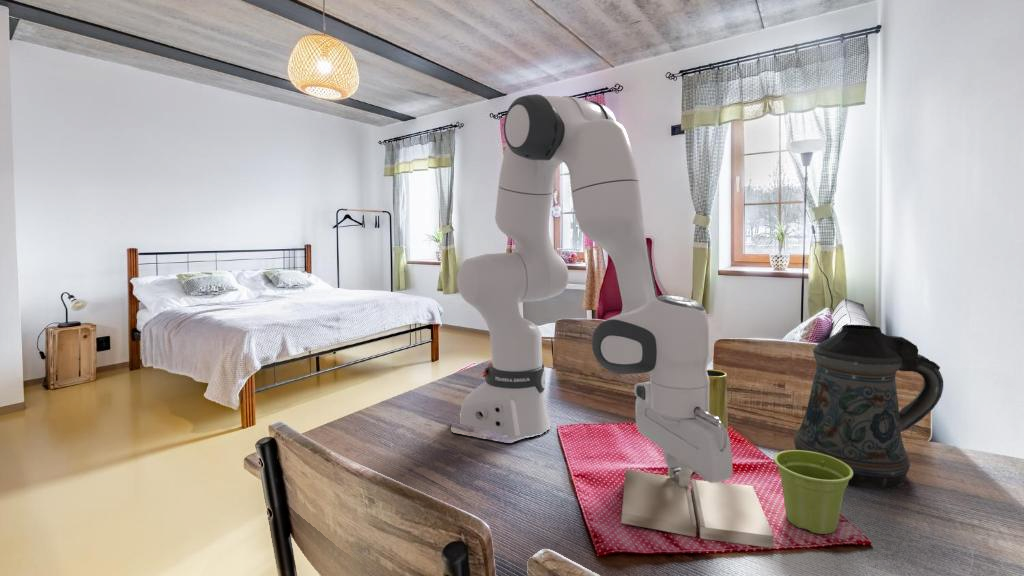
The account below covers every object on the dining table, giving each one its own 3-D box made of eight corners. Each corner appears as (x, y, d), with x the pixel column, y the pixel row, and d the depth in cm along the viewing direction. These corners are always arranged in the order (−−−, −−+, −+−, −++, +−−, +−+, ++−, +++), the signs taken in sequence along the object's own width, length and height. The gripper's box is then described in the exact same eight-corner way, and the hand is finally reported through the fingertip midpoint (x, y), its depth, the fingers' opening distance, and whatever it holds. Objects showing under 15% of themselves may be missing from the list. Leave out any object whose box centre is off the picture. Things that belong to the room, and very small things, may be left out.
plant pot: (759, 506, 71) (760, 451, 70) (817, 501, 72) (819, 447, 71) (802, 545, 62) (803, 483, 61) (868, 539, 63) (871, 477, 62)
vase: (732, 449, 90) (733, 377, 89) (698, 448, 91) (698, 376, 90) (724, 436, 96) (725, 369, 95) (692, 435, 97) (693, 368, 96)
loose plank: (621, 522, 67) (621, 511, 67) (625, 478, 79) (625, 468, 79) (695, 536, 64) (696, 525, 64) (687, 488, 77) (688, 478, 76)
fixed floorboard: (700, 538, 64) (700, 525, 64) (691, 489, 76) (691, 478, 76) (773, 548, 62) (773, 535, 61) (752, 495, 74) (752, 485, 74)
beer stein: (773, 449, 90) (776, 321, 87) (867, 441, 92) (872, 316, 89) (842, 495, 73) (848, 339, 71) (954, 485, 75) (963, 332, 73)
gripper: (744, 418, 65) (743, 512, 66) (659, 378, 84) (659, 451, 86) (706, 425, 63) (705, 521, 65) (628, 382, 83) (629, 457, 84)
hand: (678, 481), depth 75 cm, fingers closed
